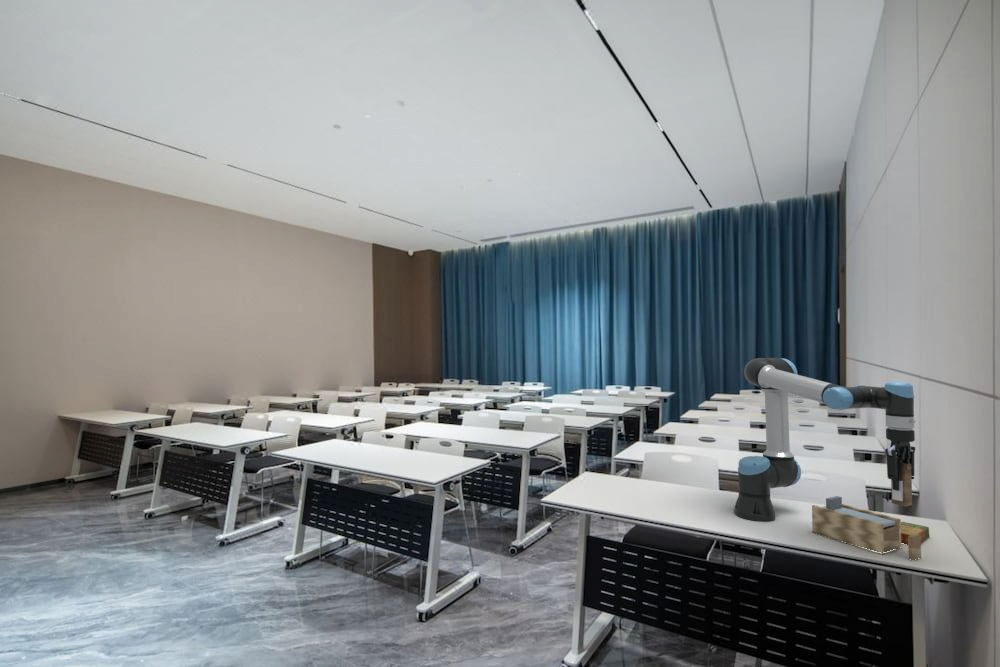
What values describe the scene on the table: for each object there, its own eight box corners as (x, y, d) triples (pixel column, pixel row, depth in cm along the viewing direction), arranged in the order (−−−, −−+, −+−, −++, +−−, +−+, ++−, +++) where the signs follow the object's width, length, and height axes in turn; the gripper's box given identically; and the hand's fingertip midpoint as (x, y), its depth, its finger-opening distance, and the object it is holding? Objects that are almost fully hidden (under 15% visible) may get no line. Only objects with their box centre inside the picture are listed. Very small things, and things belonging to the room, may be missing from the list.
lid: (817, 510, 187) (817, 497, 187) (832, 507, 191) (831, 494, 191) (881, 528, 168) (880, 513, 169) (895, 524, 172) (895, 509, 173)
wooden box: (812, 532, 187) (811, 505, 188) (831, 527, 193) (831, 501, 193) (907, 563, 160) (906, 531, 161) (926, 556, 166) (925, 525, 166)
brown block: (890, 502, 168) (889, 462, 169) (896, 501, 170) (896, 460, 171) (907, 506, 164) (906, 464, 165) (913, 505, 166) (912, 463, 166)
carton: (888, 541, 179) (887, 529, 180) (901, 531, 189) (901, 520, 189) (917, 548, 173) (917, 536, 173) (929, 538, 183) (929, 526, 183)
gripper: (898, 432, 161) (900, 505, 160) (927, 428, 168) (928, 498, 168) (872, 428, 168) (874, 499, 167) (901, 425, 175) (902, 492, 174)
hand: (901, 498), depth 167 cm, fingers closed on brown block, 4 cm apart
